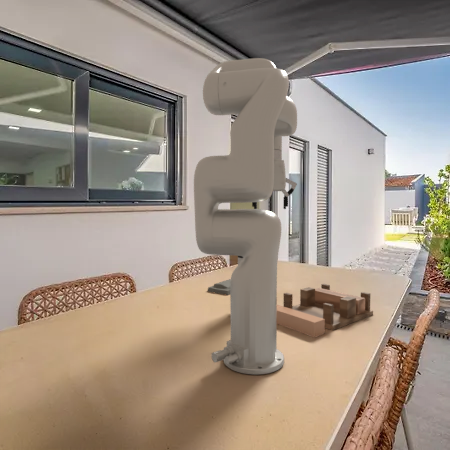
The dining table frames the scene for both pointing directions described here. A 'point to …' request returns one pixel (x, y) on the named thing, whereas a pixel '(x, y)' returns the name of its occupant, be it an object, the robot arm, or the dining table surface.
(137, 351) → the dining table surface
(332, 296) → the rack
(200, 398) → the dining table surface
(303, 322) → the slat
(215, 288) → the soap mold
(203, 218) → the robot arm
